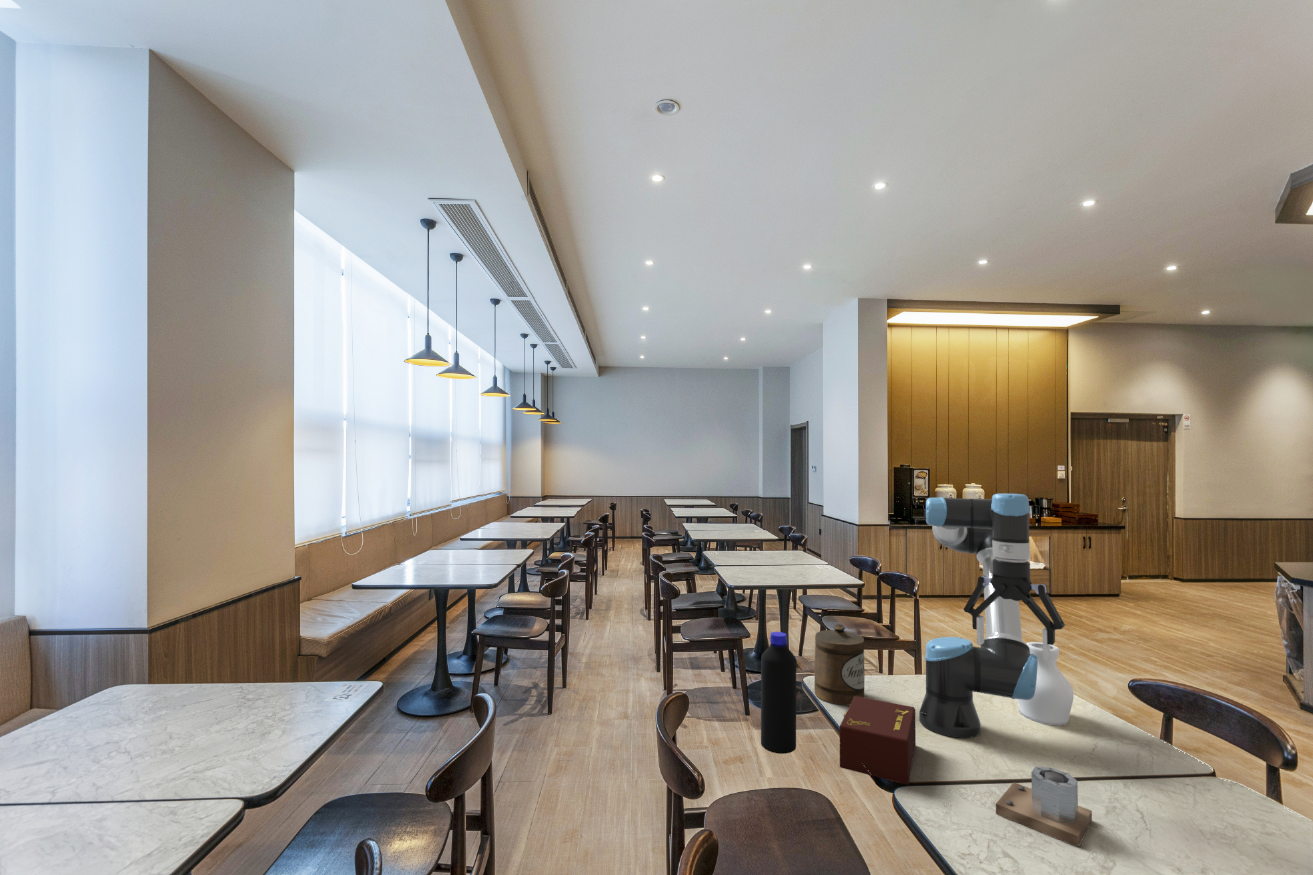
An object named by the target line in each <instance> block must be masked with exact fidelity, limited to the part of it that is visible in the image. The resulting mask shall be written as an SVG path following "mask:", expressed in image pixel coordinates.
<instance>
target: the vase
mask: <svg viewBox="0 0 1313 875" xmlns="http://www.w3.org/2000/svg"><path fill="white" fill-rule="evenodd" d="M1026 644H1027V645H1028V646H1029V648H1030V654H1034V655H1036V656H1037V661H1038V668H1037V681H1036V689H1035V694H1034V697H1033V698H1032V699H1030V700H1023V699H1016V700H1017V704H1018V712H1019V714H1020V715H1021V716H1022V717H1024V718H1026V719H1028V720H1030V721H1032V722H1035V723H1040V724H1042V725H1049V726H1066V725H1068V724H1069V722H1070V714H1071V710H1072V707H1073V703H1074V696H1075V695H1074V690H1073V686H1072V684H1071V683H1070V681H1069V680H1068V679H1067V678H1066V677H1065V676H1064V674H1063V673H1062V671H1061V670H1060V668H1059V667H1058V665H1057V664H1058V663H1057V661H1058V658H1059V655H1060V648H1059V647H1058V646H1056V645H1054V644H1053V645H1050V658H1049V659H1047V660H1045V659H1043V642H1040V641H1028V642H1026Z"/></svg>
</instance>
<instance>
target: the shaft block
mask: <svg viewBox="0 0 1313 875" xmlns="http://www.w3.org/2000/svg"><path fill="white" fill-rule="evenodd" d="M1045 779H1047V780H1050V781H1053V782H1056V783H1064V778H1063V777H1062V776H1061V775H1059V774H1057V773H1053V772H1046V773H1045ZM995 814H996V815H998V816H1001V817H1004V818H1005V819H1009V820H1011V821H1013V822H1015V823H1017V824H1021V825H1022V826H1025V827H1028V828H1030V829H1033V830H1035V831H1038V832H1040V833H1043V834H1045V835H1047V836H1050V837H1053V838H1055V839H1057V840H1060V841H1062V842H1064V843H1067V844H1070V845H1072V846H1075V847H1077V848H1079V847H1080V845H1081V843H1082V841H1083V839H1084V837H1085V835H1086V833H1087V831H1088V829H1089V827H1090V826H1091V824H1092V822H1093V810H1091V809H1089V808H1085V807H1083V806H1080V805H1078V818H1077V820H1076V822H1075V823H1059V822H1056V821H1053V820H1051V819H1048V818H1046V817H1043V816H1041V815H1040V814H1039V813H1038V812H1037V811H1036V810H1035V809H1034V808H1033V807H1032V787H1031V788H1030V787H1028V786H1025V785H1023V784H1019V783H1017V782H1012V783H1011V785H1010V786H1009V787H1008V788H1007V789H1006V790H1005V791H1004V793H1003V794H1002V796H1001V797H999V799H998V800H997V801H996V803H995Z"/></svg>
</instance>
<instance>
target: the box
mask: <svg viewBox="0 0 1313 875" xmlns="http://www.w3.org/2000/svg"><path fill="white" fill-rule="evenodd" d="M848 706H849V707H848V709H847V711H845V712H844V714H843V719H842V721H841V722H840V725H839V768H840V769H844V770H848V771H852V772H856V773H859V774H864V775H868V776H871V775H870V773H871V774H872V775H873V777H875V775H876V778H880V779H884V780H887V779H888V781H891V782H896V783H900V784H903V783H904V785H909V784H910V779H911V774H910V773H912V772H911V771H912V768H913V764H914V757H915V751H916V740H917V739H916V738H917V737H916V707H914V706H910V705H904V704H900V703H894V702H890V701H885V700H878V699H873V698H868V697H865V696H864V697H859V696H855V697H854V698H853V700H852V702H851V704H850V705H848ZM862 763H863V764H862ZM863 765H865V767H866V768H865V767H864V766H863ZM867 770H869V772H870V773H869V772H868V771H867Z"/></svg>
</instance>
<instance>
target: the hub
mask: <svg viewBox="0 0 1313 875" xmlns="http://www.w3.org/2000/svg"><path fill="white" fill-rule="evenodd" d="M1046 772H1053V773H1057V774H1059V775H1061V776H1062V777H1063V778H1064V783H1056V782H1053V781H1050V780H1047V779H1045V773H1046ZM1030 775H1031V789H1032V807H1033V808H1034V809H1035V810H1036V811H1037V812H1038V813H1039V814H1040V815H1041V816H1043V817H1046V818H1048V819H1051V820H1053V821H1056V822H1059V823H1075V822H1076V820H1077V818H1078V806H1079V795H1078V794H1079V793H1078V792H1079V791H1078V788H1079V787H1078V780H1077V779H1075V777H1073V776H1071V774H1069V773H1068V772H1065V771H1063V770H1060V769H1057V768H1053V767H1050V766H1049V767H1048V766H1035V767H1034V768H1033V770H1032V771H1031V774H1030Z"/></svg>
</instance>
